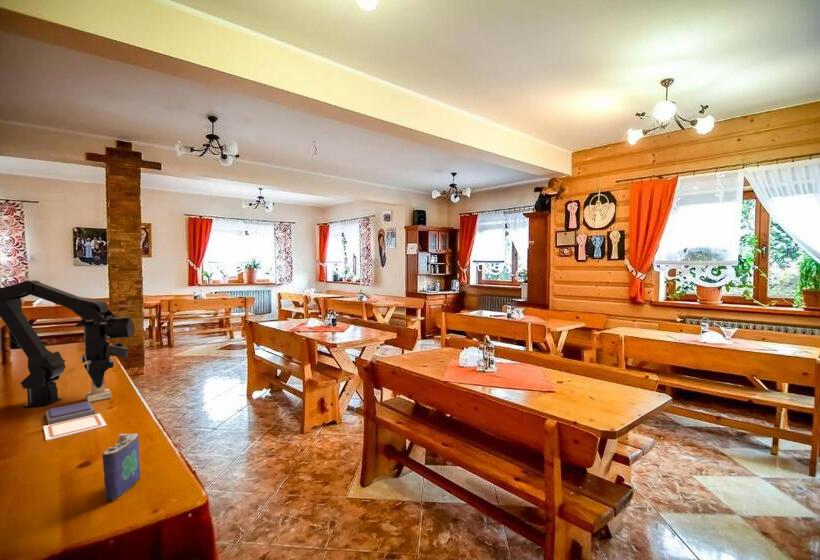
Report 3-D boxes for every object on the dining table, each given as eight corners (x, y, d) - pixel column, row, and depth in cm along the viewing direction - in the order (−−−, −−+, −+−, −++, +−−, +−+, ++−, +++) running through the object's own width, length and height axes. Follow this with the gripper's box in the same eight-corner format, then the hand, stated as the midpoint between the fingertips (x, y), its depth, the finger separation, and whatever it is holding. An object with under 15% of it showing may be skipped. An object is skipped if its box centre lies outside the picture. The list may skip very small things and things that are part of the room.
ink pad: (46, 415, 113) (45, 408, 113) (90, 405, 120) (89, 399, 120) (48, 424, 106) (47, 418, 106) (94, 414, 113) (94, 407, 113)
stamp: (85, 398, 126) (84, 374, 126) (108, 394, 131) (107, 371, 130) (88, 403, 122) (86, 378, 122) (111, 398, 127) (110, 374, 126)
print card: (43, 427, 104) (43, 425, 104) (99, 414, 113) (99, 413, 113) (46, 441, 96) (46, 439, 96) (106, 425, 104) (106, 424, 104)
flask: (130, 475, 79) (128, 424, 79) (145, 474, 80) (143, 423, 79) (100, 503, 70) (98, 445, 70) (118, 502, 70) (116, 444, 70)
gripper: (132, 339, 125) (134, 386, 126) (120, 332, 138) (122, 375, 139) (87, 344, 117) (90, 395, 118) (80, 337, 130) (82, 382, 131)
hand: (98, 386), depth 126 cm, fingers closed on stamp, 3 cm apart
